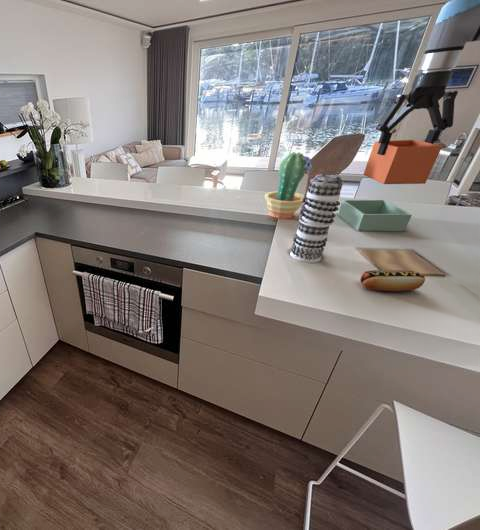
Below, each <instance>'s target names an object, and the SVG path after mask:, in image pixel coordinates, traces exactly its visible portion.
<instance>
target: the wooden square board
mask: <svg viewBox="0 0 480 530" xmlns="http://www.w3.org/2000/svg"><path fill="white" fill-rule="evenodd" d="M358 251H359V252H360V253H361V254H362V256H364V257H365V258H366V259H367V260H368V261H370V263H372V264H373V266H375V267H376V268H377V270H407V271H414V272H419V273H422V274H424V276H430V277H431V276H432V277H433V276H434V277H445V276H446V274H445V273H444V272H442V271H441V270H440V269H438V268H437V267H435V266H434V265H432V263H429V262H428V261H427V260H425V259H424V258H423V257H421V256H420V255H418V254H417V253H415V252H414V251H413V250H406V249H405V250H401V249H400V250H399V249H368V248H367V249H366V248H365V249H363V248H359V249H358Z"/></svg>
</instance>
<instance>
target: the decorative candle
mask: <svg viewBox="0 0 480 530" xmlns="http://www.w3.org/2000/svg"><path fill="white" fill-rule="evenodd" d="M309 182H310V183H309V187H308V190H307V192H306V194H303V195H304V198H303V200H302V202H304V203H303V204H302V205H301V206H300V211H299V214H301V215H299V218H298V221H299V225H298V228H297V231H296V232H295V234H294V237H293V242H292V244H291V248H290V253H289V255H290V257H291V258H293V259H294V260H296V261H298V262H299V261H300V262H304V263H310V264H311V263H312V264H313V263H318V262H320V261H321V260H322V257H323V254H324V252H325V247H326V245H327V242H328V233H329V229H330V227H331V226H332V225H333V223H334V222H335V219H334V218H335V217H336V214H335V213H334V212H338V211H339V207H338V206H341V201H339V200H340V197H341V191H342V189H343V185H345V184H346V183H345V181H343V180H342V177H341V176H339V175H337V174H331V173H322V174H317V175H316V176H314V177H313V178H312V179H310V180H309ZM305 199H306V200H305Z"/></svg>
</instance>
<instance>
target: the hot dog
mask: <svg viewBox="0 0 480 530" xmlns="http://www.w3.org/2000/svg"><path fill="white" fill-rule="evenodd" d="M425 276H426V275H424V274H422V273H419V272H414V271H407V270H379V269H376V270H375V269H374V270H373V269H372V270H364V271H363V272H362V274H361V275H360V277H359V282H360V284H361V286H362V287H363V288H366V289H368V290H369V291H378V292H408V291H409V292H410V291H415V290H418V289H419V288H421V287H422V286H423V285H424V283H425V282H426V277H425Z"/></svg>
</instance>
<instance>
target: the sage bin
mask: <svg viewBox="0 0 480 530" xmlns="http://www.w3.org/2000/svg"><path fill="white" fill-rule="evenodd" d="M337 215H338V217H340V218H341V219H342V220H344V221H345V222H346V223H347V224H349V225H350V226H351V227H353V229H355V230H356V231H358V232H361V231H362V232H364V231H365V232H366V231H367V232H405V231H406V230H407V227H408V225H409V222H410V221H411V218H412V217H413V215H412V213H409V212H408V211H405V210H404V209H402V208H401V207H398V206H396V205H395V204H393V203H391V202H390V201H388V200H385V199H342V201H341V203H340V207H339V209H338V212H337Z"/></svg>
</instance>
